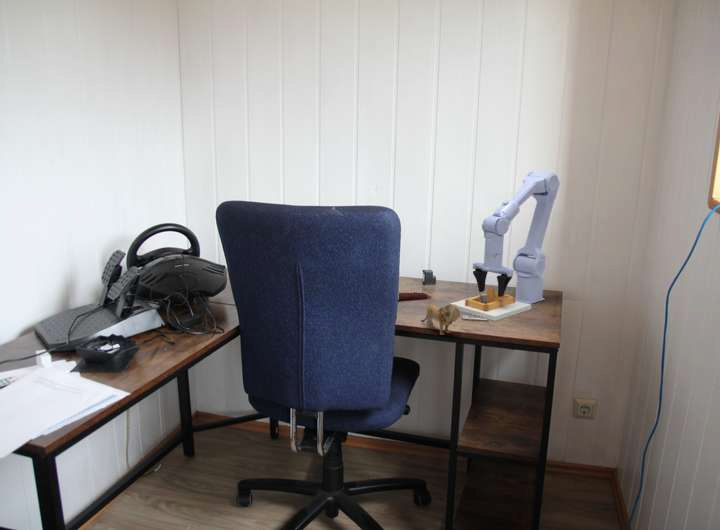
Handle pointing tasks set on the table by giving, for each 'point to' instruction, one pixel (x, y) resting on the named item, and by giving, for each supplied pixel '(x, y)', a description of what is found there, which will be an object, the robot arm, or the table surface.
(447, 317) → the lion figurine
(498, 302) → the orange link
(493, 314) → the board
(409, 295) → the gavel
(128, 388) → the table surface
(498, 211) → the robot arm
